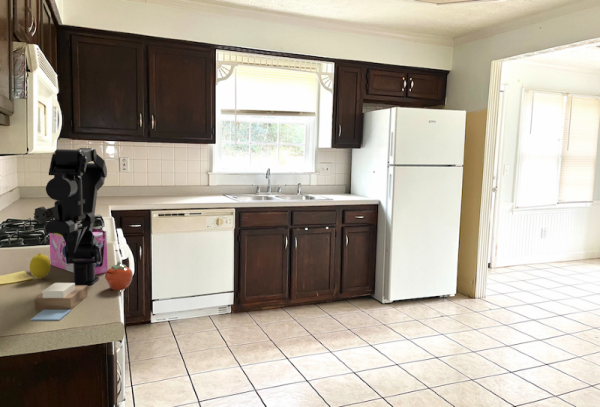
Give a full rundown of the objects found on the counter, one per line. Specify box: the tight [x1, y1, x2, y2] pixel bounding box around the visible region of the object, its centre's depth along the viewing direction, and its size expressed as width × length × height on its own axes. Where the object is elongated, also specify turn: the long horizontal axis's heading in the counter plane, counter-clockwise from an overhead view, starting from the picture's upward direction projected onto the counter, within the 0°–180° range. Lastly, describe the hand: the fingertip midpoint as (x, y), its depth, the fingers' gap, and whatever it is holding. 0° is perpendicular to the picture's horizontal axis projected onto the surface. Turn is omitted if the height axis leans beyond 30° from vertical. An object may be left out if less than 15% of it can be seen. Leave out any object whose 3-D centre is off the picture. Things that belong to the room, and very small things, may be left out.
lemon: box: [29, 253, 52, 280], centre depth 139 cm, size 6×6×8 cm
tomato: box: [104, 260, 134, 291], centre depth 132 cm, size 7×7×8 cm
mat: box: [29, 310, 72, 322], centre depth 110 cm, size 6×6×1 cm
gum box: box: [48, 228, 109, 276], centre depth 151 cm, size 24×8×14 cm, turn 54°
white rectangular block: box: [41, 282, 75, 298], centre depth 117 cm, size 7×5×2 cm
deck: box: [34, 285, 89, 311], centre depth 119 cm, size 11×8×3 cm
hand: (72, 253), depth 124 cm, fingers closed
